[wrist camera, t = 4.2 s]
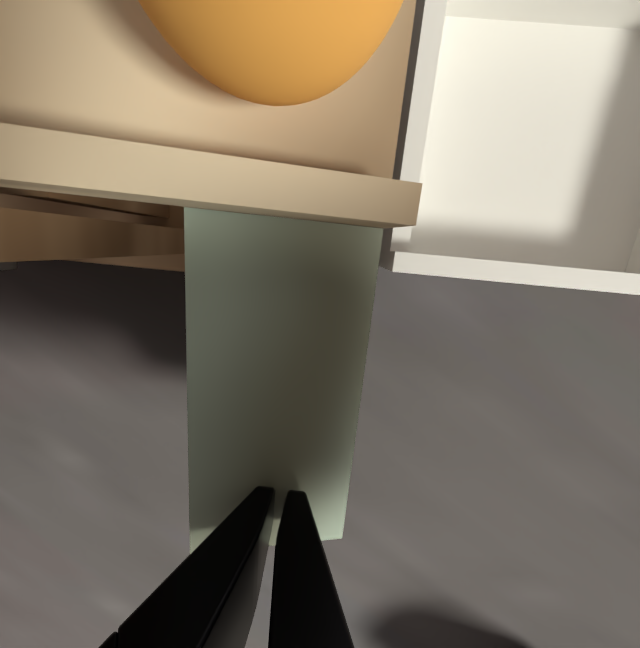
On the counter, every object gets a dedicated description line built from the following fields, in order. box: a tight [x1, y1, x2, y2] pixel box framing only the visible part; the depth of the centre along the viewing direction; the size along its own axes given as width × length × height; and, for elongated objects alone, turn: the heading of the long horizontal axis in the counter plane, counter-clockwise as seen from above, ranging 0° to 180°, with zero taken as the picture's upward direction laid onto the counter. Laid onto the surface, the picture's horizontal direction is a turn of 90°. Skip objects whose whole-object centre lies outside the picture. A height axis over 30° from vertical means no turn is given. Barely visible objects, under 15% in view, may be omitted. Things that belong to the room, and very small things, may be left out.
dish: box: [379, 0, 640, 295], centre depth 8 cm, size 8×7×3 cm
